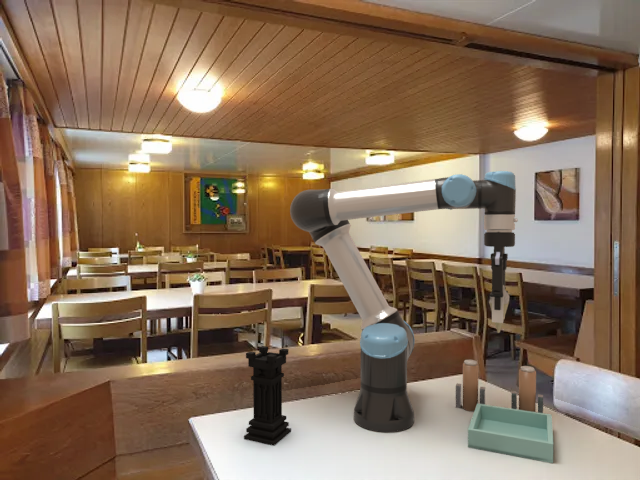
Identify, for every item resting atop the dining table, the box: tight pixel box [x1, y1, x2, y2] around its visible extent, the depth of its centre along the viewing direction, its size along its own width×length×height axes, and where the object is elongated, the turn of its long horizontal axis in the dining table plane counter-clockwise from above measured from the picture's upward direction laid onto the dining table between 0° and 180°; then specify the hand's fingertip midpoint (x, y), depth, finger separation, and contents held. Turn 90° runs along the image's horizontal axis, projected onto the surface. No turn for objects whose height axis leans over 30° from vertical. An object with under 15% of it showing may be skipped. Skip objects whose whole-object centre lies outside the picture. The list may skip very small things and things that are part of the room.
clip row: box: [455, 382, 544, 413], centre depth 124 cm, size 21×2×6 cm, turn 65°
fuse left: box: [462, 359, 479, 412], centre depth 127 cm, size 4×4×13 cm
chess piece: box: [243, 345, 292, 447], centre depth 111 cm, size 8×8×20 cm
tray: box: [467, 402, 554, 464], centre depth 109 cm, size 17×17×4 cm
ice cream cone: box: [488, 285, 510, 334], centre depth 123 cm, size 5×5×15 cm
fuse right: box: [518, 365, 537, 412], centre depth 121 cm, size 4×4×13 cm
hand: (498, 320), depth 124 cm, fingers closed on ice cream cone, 5 cm apart
